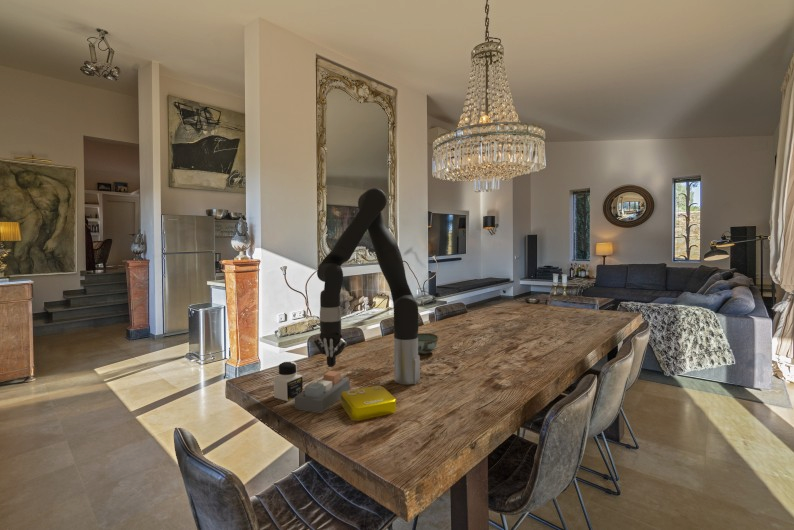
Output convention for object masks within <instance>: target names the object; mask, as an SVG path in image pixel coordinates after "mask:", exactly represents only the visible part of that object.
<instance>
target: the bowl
mask: <svg viewBox="0 0 794 530" xmlns="http://www.w3.org/2000/svg"><path fill="white" fill-rule="evenodd" d="M438 339H439V336H438V335H436V334H434V333H428V332H422V333H418V355H430V354H431V353H432V351H434V350H435V349H436V348H437V345H438V341H439V340H438Z"/></svg>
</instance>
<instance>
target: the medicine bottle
mask: <svg viewBox="0 0 794 530" xmlns="http://www.w3.org/2000/svg"><path fill="white" fill-rule="evenodd" d="M297 369H298V368H297V363H296V362H294V361H290V360H289V361H284V362H281V363H280V364H278V376H275V377H273V397H274V399H278V400H282V401H284V402H290V401H292V400H295V398H294V397H295V396H297V395H298V394H300V393H301V392H303V391H304V390H303V385H304V384H303V375H301V374H297V372H298V371H297Z"/></svg>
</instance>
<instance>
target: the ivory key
mask: <svg viewBox="0 0 794 530" xmlns="http://www.w3.org/2000/svg"><path fill="white" fill-rule="evenodd" d="M320 380H321V379H320ZM318 381H319V380H318ZM318 381H317V382H318ZM318 383H321V384H323V388H324V391H328V390H330V389H331V388H332V381H325V380H321V381H319V382H318Z"/></svg>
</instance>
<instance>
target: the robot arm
mask: <svg viewBox="0 0 794 530" xmlns="http://www.w3.org/2000/svg"><path fill="white" fill-rule="evenodd" d="M387 203H388V200H387V195H386V194H385V192H384V191H383V190H382V189H380V188H378V187H374V188H370V189H368V190H366V191H365V192H363V193H362V194H361V195H360V196H359V198H358V201H357V206H358V212H357V214H356V215H355V217H353V219H352V221H351V222H350V224H349V225H348V226H347V227H346V228H345V230H344V231H343V232H342V234H341V235H340V237H339V238H338V239H337V241H336V243H335V245H334V246H333V248H332V249H331V251H330V252H329V253H328V254H327V255H326V256H325V257H324V259H322V261H321V262H320V264H319V265H318V267H317V271H316V276H317V278H318V280H320V282H323V283H324V287H323V290H321V291H320V294H319V295H320V297H319V298H320V300H319V302H320V303H319V304H320V305H319V332H320V334H319V337H318V338H317V339H315V340H314V341H313V342H314V345H315V346H316V348H317V349H318V350H319V352H320V354H321V355H325V356H326V365H327V366H328V367H329V368H334V367H335V365H336V363H337V360H336V359H337V358H336V357H337V356H339V355H340V354H341V353H342V352H343V351H344V350H345V349H346V347H347V346H348V344H349V341H347V340H344V339H343V335H342V310H341V291H342V286H343V283H344V282H343V281H344V271H343V269H342V267H341V266H342V265H343V264H345V263H346V262H348V261H349V260H350V259H351V258H352V256H353V254H354V253H355V251H356V249H357V248H358V245H360V242H361V240H362V239H363V237H364V235H365V234H366V232H367V231H368V234H369V238H370V240H371V243H372V248H373V250H374V254H375V256H376V260H377V263H378V266H379V268H380V270H381V272H382V275H383V277H384V278H385V282H386V283H387V284H388V287H389V291H390V295H391V299H392V305H393V346H394V349H393V350H394V351H393V357H394V361H393V362H394V364H393V365H394V382H395V383H397V384H399V385H406V386H407V385H417V383H418V382H420V381H419V380H421V378H420V377H421V375H420V374H421V373H420V372H421V369H420V368H421V367H420V366H421V365H420V360H421V358H420V357H421V356H420V354H419V353H418V334H419V307H418V306H419V305H418V303H417V300H416V299H415V297H414V295H413V292H412V291H411V288H410V285H409V283H408V280H407V276H406V268H405V265H404V261H403V257H402V253H401V251H400V247H399V245H398V243H397V241H396V239H395V237H394V236H393V235H392V234H391V232H390V230H389V228H387V226H386V224H385V221H384V218H383V214H382V211H384V209H385V208H386V206H387ZM338 345H339V347H338Z"/></svg>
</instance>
